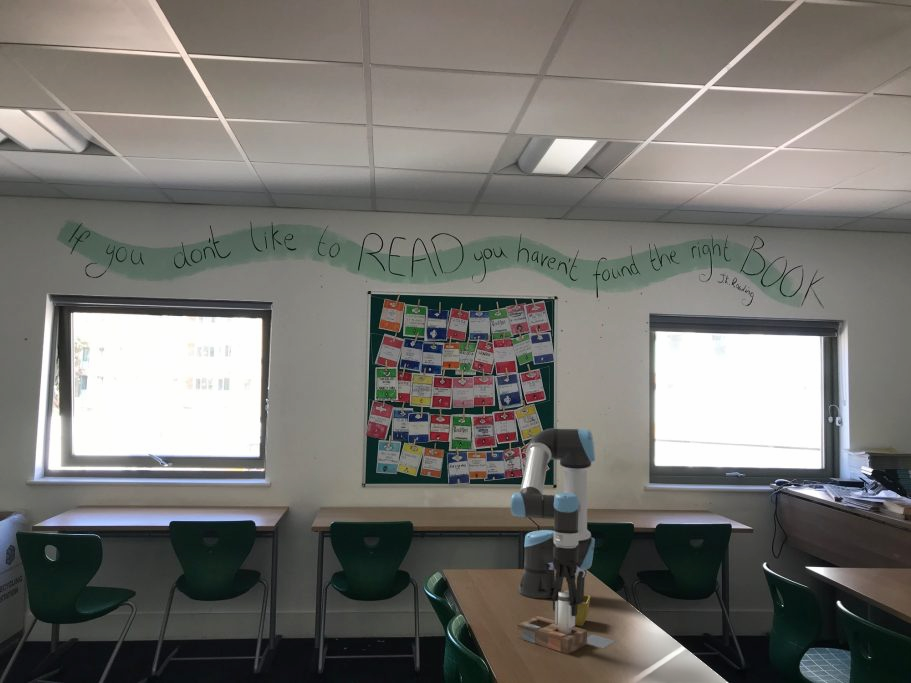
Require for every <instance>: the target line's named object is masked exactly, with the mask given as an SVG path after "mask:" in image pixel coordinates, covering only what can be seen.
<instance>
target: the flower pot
mask: <svg viewBox="0 0 911 683" xmlns="http://www.w3.org/2000/svg"><path fill="white" fill-rule="evenodd" d="M590 600H591V596H590V595H588V594H587V595H586V594H584V602H583V603H581V604H578V605H577V615H576V616H575V626H577V627H578V626H579V627H583V626H584V624H585V622H586V620H587V616H588V614H589V610H590V602H591V601H590Z"/></svg>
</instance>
